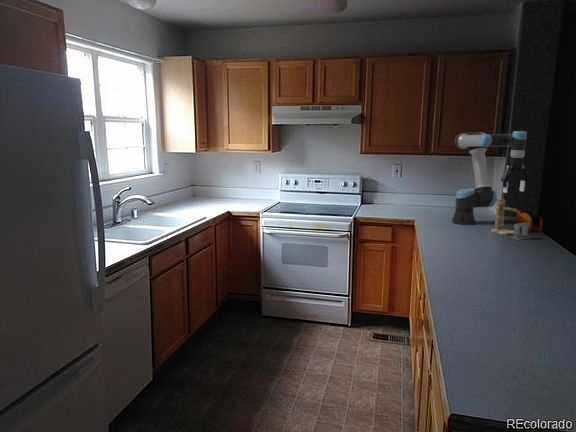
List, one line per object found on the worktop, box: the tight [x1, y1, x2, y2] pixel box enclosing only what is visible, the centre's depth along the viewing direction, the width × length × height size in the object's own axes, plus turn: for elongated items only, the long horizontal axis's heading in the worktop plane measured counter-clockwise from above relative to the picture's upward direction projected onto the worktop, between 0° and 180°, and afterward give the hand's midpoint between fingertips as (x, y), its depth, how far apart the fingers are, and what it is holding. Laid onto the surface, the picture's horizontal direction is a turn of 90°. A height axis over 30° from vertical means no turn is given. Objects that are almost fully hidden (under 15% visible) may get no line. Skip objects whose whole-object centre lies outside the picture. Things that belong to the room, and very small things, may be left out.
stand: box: [490, 199, 518, 236], centre depth 267 cm, size 13×10×20 cm
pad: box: [510, 236, 531, 241], centre depth 254 cm, size 6×9×1 cm, turn 111°
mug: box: [515, 210, 544, 233], centre depth 274 cm, size 10×14×12 cm
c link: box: [512, 223, 529, 238], centre depth 254 cm, size 8×3×8 cm, turn 111°
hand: (513, 191), depth 265 cm, fingers open, 13 cm apart
